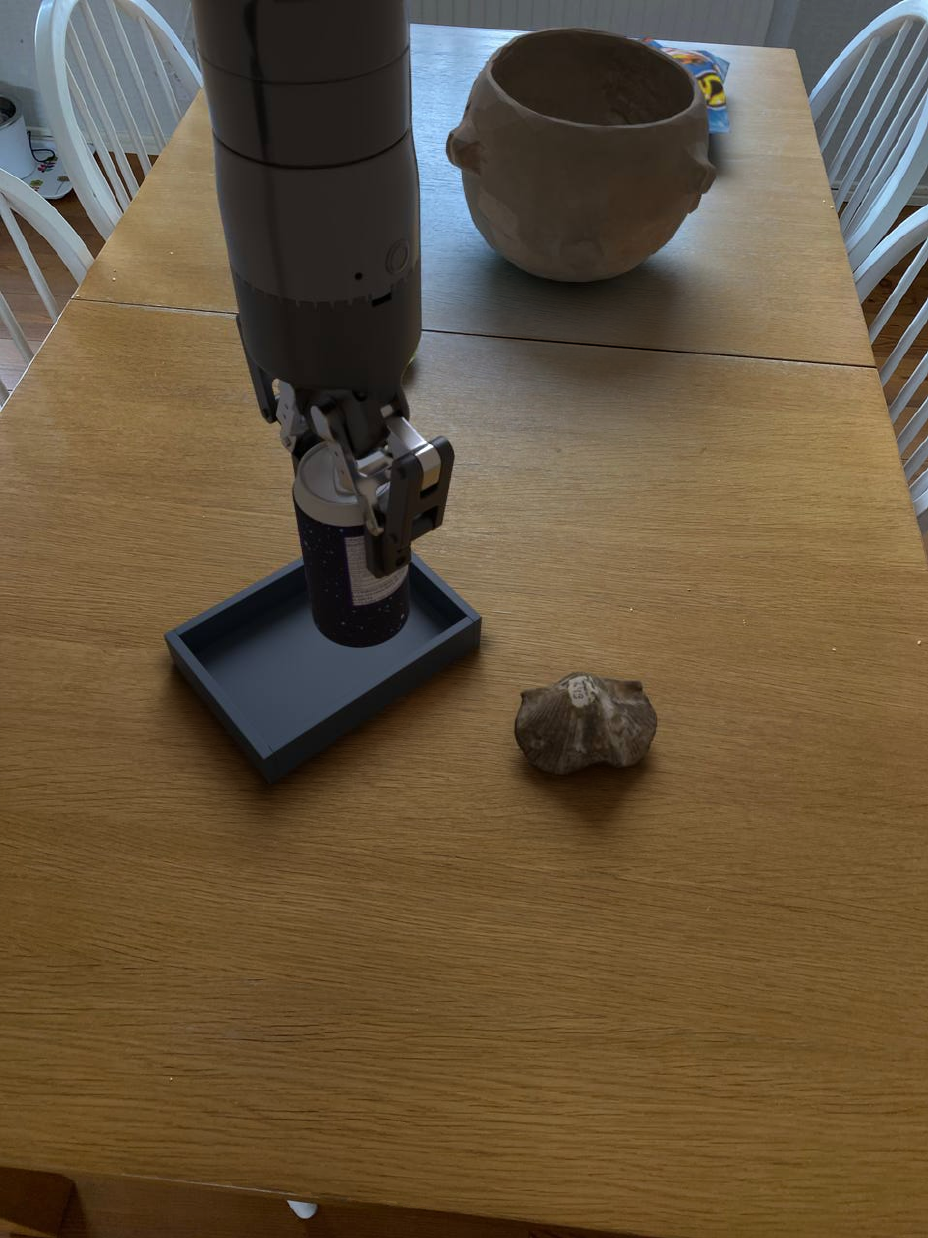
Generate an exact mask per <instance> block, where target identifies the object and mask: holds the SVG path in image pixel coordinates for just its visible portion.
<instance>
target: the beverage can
mask: <svg viewBox="0 0 928 1238" xmlns="http://www.w3.org/2000/svg"><path fill="white" fill-rule="evenodd" d="M387 449H388V447H387V448H386V447H384V448H383V449H382V450H380V451H378V452H376V453H374V454H372V455H370V456H368V457H367V458H365V459H362V460H357V461H355V462H356V465H357V468H358V469H360V468H362V467H364V466H366V465H368V464H370V463H371V462H373V461H375V460H377V459H379V458H381V457H383V456H384V455H385V454H386V452H387ZM389 487H390V482H388V483H386V484H384V485H382V486H380V487H379V488H378V489H377V491H376V497H377V500H378V503H379V505H380V504H382V503H384V502H386V501H387V500H388V497H389ZM291 495H292V502H293V507H294V514H295V519H296V526H297V531H298V537H299V538H298V539H299V544H300V549H301V557H303V562H304V568H305V574H306V580H307V586H308V592H309V598H310V604H311V610H312V616H313V620H314V623H315V625H316V627H317V629H318V630H319V631H320V632H321V634H322V635H324V636H325V637H326V638H327V639H329V640H330V641H332V642H334V643H336V644H339V645H342V646H346V647H352V648H366V647H372V646H376V645H379V644H382V643H384V642H386V641H388V640H390V639H391V638H393V637H394V636H395V635H397V634H398V633H399V632H400V631H401V630H402V628H403V627H404V625H405V624H406V622H407V620H408V617H409V613H410V595H409V565H406V566H404V567H403V568H401V569H399V570H398V571H396V572H394V573H392V574H391V575H389V576H385V577H383V578H381V579H377V578H375V577H374V576H373V575H372V574H371V573H370V572H369V571H368V569H367V563H366V552H365V541H364V529H363V524H365V522H364V520H363V517H362V514H361V511H360V508H359V505H358V502H357V499H356V496H355V494H354V493H351V492H349V491H347V490H345V489H344V488H343V487H342V486H341V483H340V480H339V477H338V474H337V471H336V468H335V466H334V463H333V460H332V457H331V454H330V451H329V448H328V445H327V442H326V441H323V442H321V443H319V444H317V445H315V446H314V447H312V448H311V449H310V450H309V451H308V452H306V454H305V455H304V456H303V457H302V459H301V461H300V463H299V466H298V470H297V476H296V478H295V477H294V481H293V484H292V489H291Z"/></svg>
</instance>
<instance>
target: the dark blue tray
mask: <svg viewBox="0 0 928 1238" xmlns="http://www.w3.org/2000/svg"><path fill="white" fill-rule="evenodd" d="M408 565H409V595H410V613H409V617H408V620H407V622H406V624H405V625H404V627H403V628H402V630H401V631H400V632H399V633H398V634H397V635H395V636H394V637H393V638H391V639H390V640H388V641H386V642H384V643H382V644H379V645H376V646H372V647H366V648H352V647H346V646H342V645H339V644H336V643H334V642H332V641H330V640H329V639H327V638H326V637H325V636H324V635H322V634H321V632H320V631H319V630H318V629H317V627H316V625H315V623H314V620H313V616H312V610H311V604H310V598H309V592H308V586H307V580H306V574H305V568H304V562H303V556H301V557H299V558H298V559H295V560H294V561H292V562H290V563H288V564H286V565H285V566H283V567H282V568H279V569H278V570H276V571H274V572H272V573H271V574H269V575H267V576H265V577H263V578H262V579H260V580H258V581H256V582H254V583H252V584H251V585H249V586H248V587H245V588H244V589H242V590H240V591H239V592H237V593H235V594H234V595H231V596H229V597H228V598H226V599H224V600H222V601H221V602H219V603H217V604H216V605H213V606H212V607H210V608H208V609H207V610H204V611H203V612H201V613H199V614H197V615H196V616H194V617H192V618H190V619H189V620H186V621H185V622H183V623H181V624H180V625H178V626H176V627H174V628H173V629H170V630H169V631H167V632H165V633H164V634H163V637H164V640H165V644H166V647H167V649H168V652H169V654H170V657H171V660H172V663H173V664H174V665H175V666H176V668H177V669H178V670H179V672H180V673H181V674H182V675H183V676H184V678H185V680H187V681H188V683H189V684H190V686H192V688H193V689H194V690H195V692H196V693H197V694H198V695H199V697H200V698H201V699H202V701H203V702H204V703H205V705H207V707H208V709H210V710H211V711H212V713H213V714H214V715H215V717H216V718H217V719H218V720H219V722H220V723H221V724H222V726H223V727H224V728H225V730H226V731H227V732H228V733H229V734H230V736H231V737H232V738H233V740H234V741H235V742H236V743H237V745H238V746H239V747H240V749H242V751H243V753H245V754H246V756H247V757H248V758H249V759H250V761H251V762H252V764H253V765H254V766H255V767H256V769H257V770H258V771H259V772H260V773H261V775H262V776H263V777H264V778H265V780H266V781H267V782H268V784H270V785H272V784H273V783H275V782H277V781H278V780H280V779H282V777H284V776H285V775H287V774H288V773H290V772H292V771H293V770H295V769H296V768H297V767H299V766H300V765H302V764H303V763H305V762H306V761H308V760H309V759H311V758H312V757H314V756H316V755H317V754H318V753H320V752H322V751H323V750H325V749H326V748H327V747H329V746H330V745H332V744H333V743H335V742H336V741H338V740H339V739H341V738H342V737H344V736H345V735H347V734H349V733H350V732H351V731H353V730H354V729H356V728H357V727H359V726H361V725H362V724H364V723H365V722H366V721H368V720H369V719H371V718H372V717H374V716H375V715H376V714H378V713H380V712H382V710H384V709H386V708H387V707H389V706H391V705H392V704H393V703H394V702H396V701H398V700H400V699H401V698H403V697H404V696H405V695H407V694H408V693H410V692H412V691H413V690H415V689H416V688H417V687H419V686H420V685H421V684H422V685H423V683H425V682H426V681H428V680H429V679H431V678H432V677H434V676H435V675H437V674H438V673H440V672H441V671H443V670H444V669H446V668H447V667H449V666H450V665H452V664H453V663H455V662H457V661H458V660H459V659H461V658H462V657H464V656H466V655H467V654H468V653H470V652H471V651H473V650H475V649H476V648H477V647H479V646H480V645H481V638H482V637H481V635H482V623H483V617H482V616H481V614H480V613H479V612H478V611H476V610H475V609H474V608H473V607H472V606H471V604H469V603H468V602H467V601H466V600H465V599H464V598H463V597H462V596H461V595H460V594H458V592H456V591H455V590H454V589H453V588H452V587H451V586H450V585H449V584H448V583H447V582H446V581H445V580H444V579H443V578H442V577H440V575H439V574H437V573H436V572H435V571H434V570H433V569H432V568H431V567H429V565H428V564H427V563H425V562H424V561H423V560H422V559H421V558H420V557H419V556H418V555H417V553H415V552H414V551H413V550H412V549H411V561H410V563H409V564H408Z"/></svg>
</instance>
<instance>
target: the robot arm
mask: <svg viewBox="0 0 928 1238" xmlns="http://www.w3.org/2000/svg"><path fill="white" fill-rule="evenodd" d="M189 1H190V7H191V17H192V24H193V31H194V40H195V44H196V52H197V57H198V62H199V68H200V72H201V79H202V83H203V88H204V90H203V91H204V96H205V100H206V105H207V110H208V112H207V113H208V116H209V122H210V127H211V135H212V142H213V156H214V157H213V158H214V159H213V161H214V162H213V163H214V182H215V191H216V198H217V204H218V209H219V210H218V211H219V215H220V221H221V225H222V230H223V235H224V240H225V246H226V250H227V258H228V263H229V268H230V274H231V279H232V284H233V289H234V295H235V301H236V305H237V310H238V314H236V315H235V323H236V327H237V330H238V334H239V338H240V341H241V345H242V348H243V349H242V350H243V352H244V356H245V359H246V364H247V367H248V371H249V374H250V378H251V382H252V386H253V391H254V393H255V396H256V400H257V405H258V408H259V411H260V415H261V417H262V418H263V419H264V420H265V422H266V423H267V424H269V425H272V424H274V423H276V422H277V423H278V424H279V425H280V430H279V437H280V442H281V444H282V446H283V447H284V448H285V449H286V451H288V453H290V455H291V462H292V467H293V469H292V470H293V475H294V479H295V478H296V476H297V470H298V466H299V463H300V461H301V459H302V457H303V456H304V455H305V454H306V452H308V451H309V450H310V449H311V448H312V447H314V446H315V445H317V444H319V443H321V442H323V441H326V442H327V445H328V448H329V451H330V454H331V457H332V460H333V463H334V466H335V468H336V471H337V474H338V477H339V480H340V483H341V486H342V487H343V488H344V489H345V490H347V491H349V492H351V493H354V494H355V496H356V499H357V502H358V505H359V508H360V511H361V514H362V517H363V520H364V522H365V524H363V529H364V541H365V552H366V563H367V569H368V571H369V572H370V573H371V574H372V575H373V576H374V577H375V578H377V579H381V578H383V577H385V576H389V575H391V574H392V573H394V572H396V571H398V570H399V569H401V568H403V567H404V566H406V565H408V564H409V563H410V561H411V550H412V542H414V541H415V540H417V539H419V538H421V537H422V536H424V535H426V534H428V533H429V532H431V531H432V532H433V531H435V530H437V529H439V528H440V527H442V526H443V522H444V517H445V513H446V512H445V511H446V505H447V501H448V496H449V491H450V485H451V480H452V476H453V475H452V474H453V471H454V464H455V459H456V455H455V453H456V452H455V450H454V447H453V445H452V443H451V442H450V441H449V440H448V438H447V437H445V436H444V435H439V436H437V437H435V438H433V439H430V440H429V441H427V440H426V439H425V438H424V437H423V436H422V435H421V434H420V433H419V432H418V431H417V429H415V427H413V425H412V424H411V423H410V419H411V411H410V405H409V402H408V399H407V396H406V393H405V389H404V385H403V376H404V374H405V371H406V370H407V367H408V365H409V364H410V363H411V362H410V360H411V358H412V356H413V355H414V353H415V351H416V349H417V347H418V348H419V345H420V342H421V338H422V334H423V333H422V332H423V318H422V317H423V314H422V313H423V309H422V308H423V306H422V305H423V303H422V301H423V300H422V229H421V227H422V226H421V224H422V222H421V185H420V173H419V163H418V158H417V152H416V146H415V145H416V144H415V137H414V132H413V131H414V130H413V96H412V95H413V93H412V92H413V87H412V84H413V83H412V82H413V81H412V39H411V14H410V11H411V10H410V0H189ZM409 362H410V363H409ZM275 380H278V383H277V390H278V391H279V393H276V394H275V392H274V388H273V383H274V381H275ZM384 447H385V448H386V447H387V452H386V454H385V455H384V456H383V457H381V458H379V459H377V460H375V461H373V462H371V463H370V464H368V465H366V466H364V467H362V468H360V469H358V468H357V465H356V462H355V461H357V460H362V459H365V458H367V457H368V456H370V455H372V454H374V453H376V452H378V451H380V450H382V449H383V448H384ZM388 482H390V487H389V497H388V500H387V501H386V502H384V503H382V504H380V505H379V503H378V500H377V497H376V491H377V489H378V488H379V487H380V486H382V485H384V484H386V483H388Z"/></svg>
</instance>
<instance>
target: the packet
mask: <svg viewBox="0 0 928 1238" xmlns="http://www.w3.org/2000/svg"><path fill="white" fill-rule="evenodd" d="M635 39H636V38H635ZM636 40H640V41H644V42H647V43H649V44H651V45H653V46H654V47H656V48H658V49H660V50H662V51H663V52H665V53H667V54H669V55H671V56H672V57H674V58H675V59H676V60H678V61H679V62H681V63H682V64H683V65H684V66H686V67H687V68H688V69H689V70H691V71H692V73H693V74H694V76H695V77H696V78H697V80H698V82H699V84H700V86H701V89H702V91H703V93H704V96H705V98H706V102H707V110H708V117H709V134H715V135H719V134H728V133H731V125H730V120H729V113H728V108H727V103H726V95H725V91H724V84H725V81H726V77H727V74H728V71H729V68H730V64H731V63H730V62H729V61H727V60H725V59H723V58H721V57H719V56H717V55H715V54H713V53H711V52H709V51H707V50H705V49H704V50H702V49H701V50H700V49H684V48H677V47H676V48H675V47H669V46H663V45H661V44H660V43H659V42H657V41H656V40H654V39H653V38H651V37H650V36H648V35H647V36H643V37H640V38H637V39H636Z"/></svg>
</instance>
